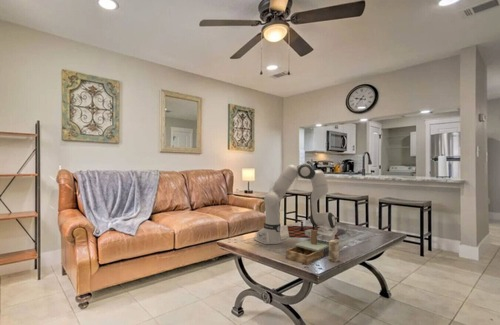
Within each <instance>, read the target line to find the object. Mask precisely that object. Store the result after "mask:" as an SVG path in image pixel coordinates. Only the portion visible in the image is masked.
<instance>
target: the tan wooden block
mask: <svg viewBox="0 0 500 325" xmlns="http://www.w3.org/2000/svg"><path fill="white" fill-rule="evenodd" d="M328 242H329V247H328V261H330V262H334V263H336V262H338V261H339V260H340V259H339V258H340V257H339V256H340V255H339V253H340V251H339V250H340V240H337V239H334V240H331V241H328Z"/></svg>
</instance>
